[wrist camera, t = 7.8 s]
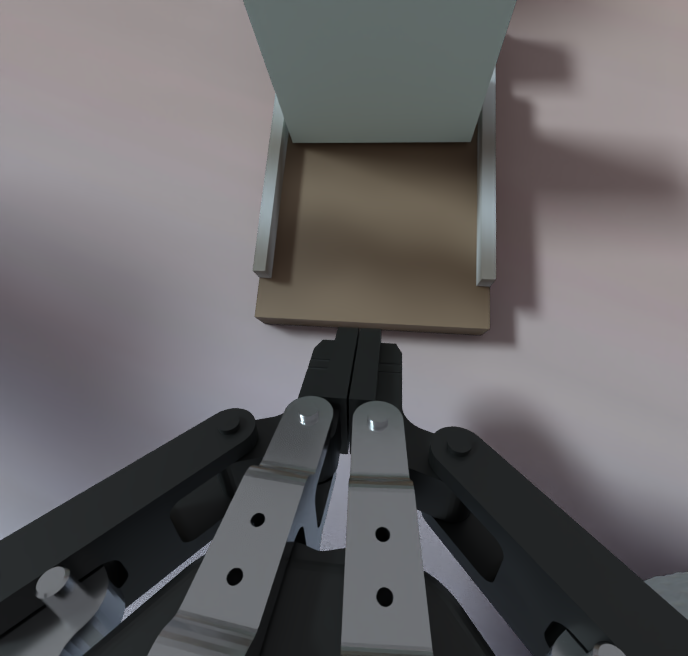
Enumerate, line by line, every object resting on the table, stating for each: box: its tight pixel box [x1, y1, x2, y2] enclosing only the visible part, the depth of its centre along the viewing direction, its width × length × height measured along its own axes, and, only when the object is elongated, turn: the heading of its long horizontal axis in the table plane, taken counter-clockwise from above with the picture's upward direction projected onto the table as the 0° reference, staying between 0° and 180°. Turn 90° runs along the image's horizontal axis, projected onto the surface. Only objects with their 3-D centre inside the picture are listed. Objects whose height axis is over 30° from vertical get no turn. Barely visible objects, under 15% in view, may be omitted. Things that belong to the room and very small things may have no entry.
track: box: [253, 68, 496, 335], centre depth 19 cm, size 18×11×4 cm, turn 175°
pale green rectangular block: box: [243, 0, 517, 143], centre depth 15 cm, size 3×9×8 cm, turn 85°
